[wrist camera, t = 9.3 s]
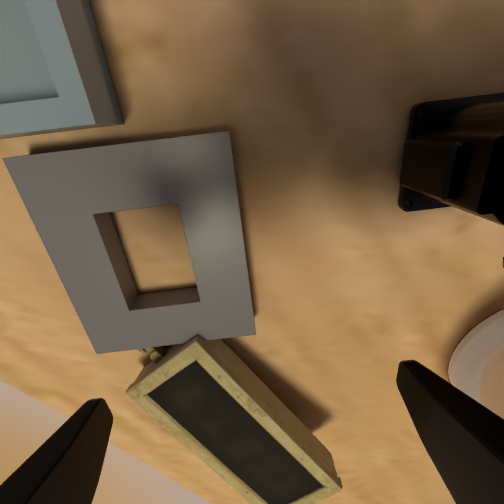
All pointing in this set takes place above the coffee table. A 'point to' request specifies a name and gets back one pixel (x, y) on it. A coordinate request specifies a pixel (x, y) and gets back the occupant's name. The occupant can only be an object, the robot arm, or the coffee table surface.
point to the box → (234, 423)
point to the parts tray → (52, 69)
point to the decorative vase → (481, 364)
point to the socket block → (109, 247)
